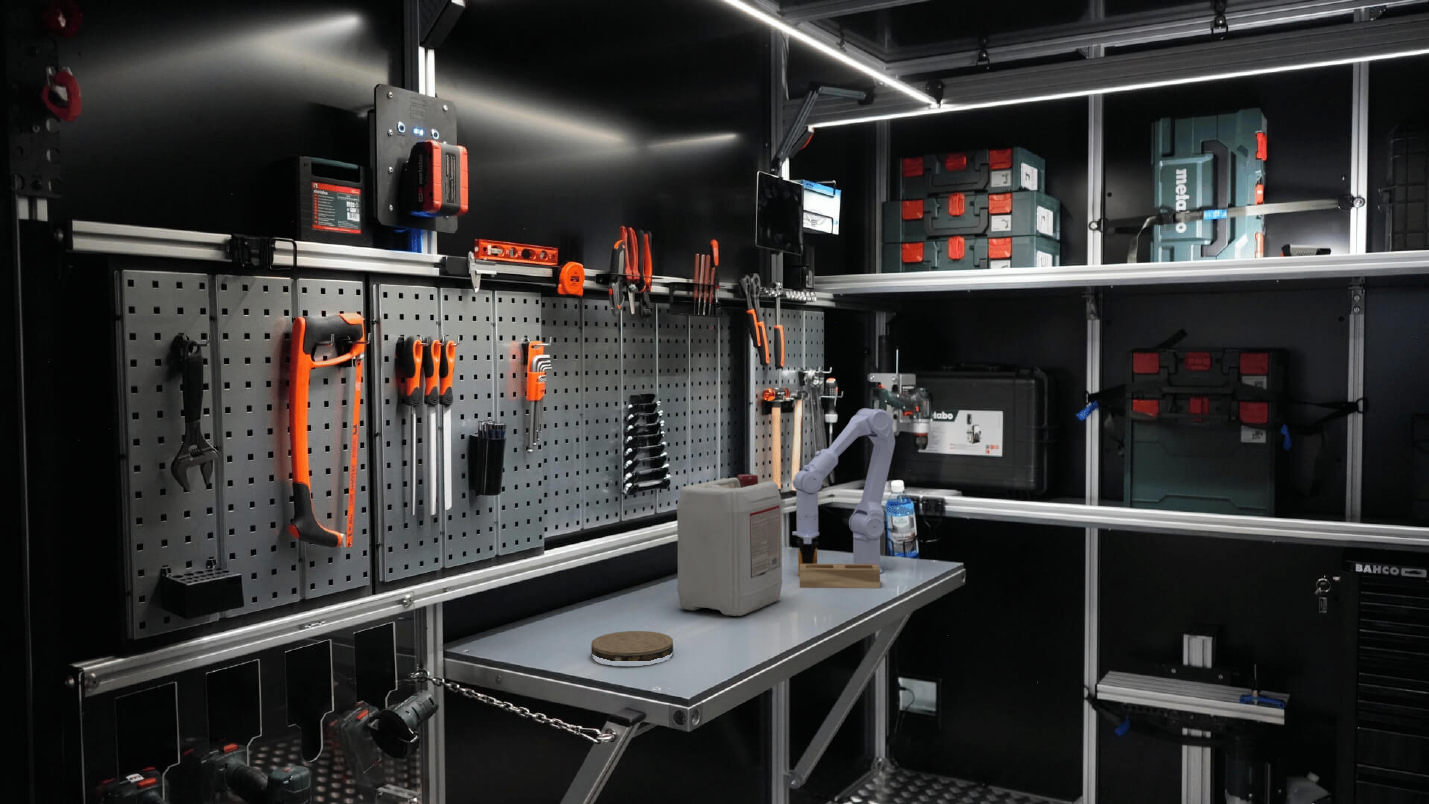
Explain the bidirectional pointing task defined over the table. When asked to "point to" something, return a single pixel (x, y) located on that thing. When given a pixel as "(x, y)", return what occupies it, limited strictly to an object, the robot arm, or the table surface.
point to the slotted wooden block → (840, 575)
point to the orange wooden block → (802, 561)
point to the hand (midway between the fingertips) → (807, 566)
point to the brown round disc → (632, 646)
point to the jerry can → (729, 545)
